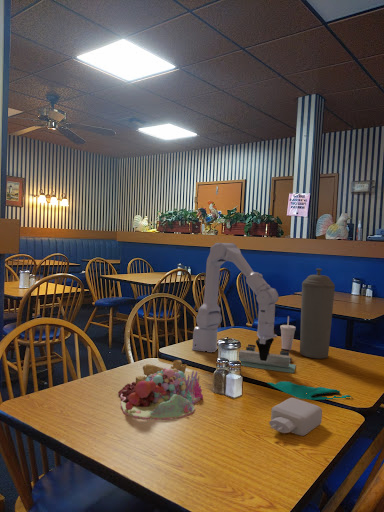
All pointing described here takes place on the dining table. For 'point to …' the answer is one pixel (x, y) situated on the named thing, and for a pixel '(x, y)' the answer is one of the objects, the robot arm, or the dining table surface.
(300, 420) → the charger
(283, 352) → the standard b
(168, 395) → the coral reef model
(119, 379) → the dining table surface
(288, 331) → the smoothie
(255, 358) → the rail
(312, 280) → the canister
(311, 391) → the cloth
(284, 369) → the mat
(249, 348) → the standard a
